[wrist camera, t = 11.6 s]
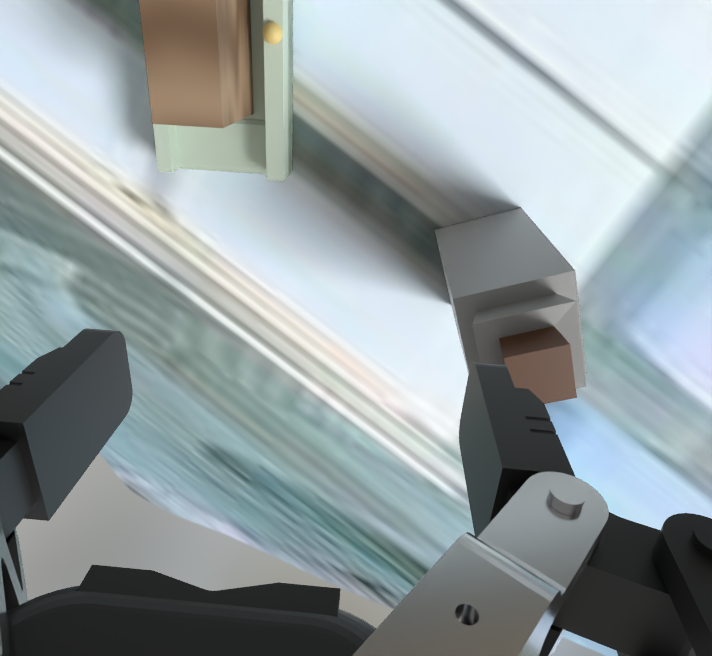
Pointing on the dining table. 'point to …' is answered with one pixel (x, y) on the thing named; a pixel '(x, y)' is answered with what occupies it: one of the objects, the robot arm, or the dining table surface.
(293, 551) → the dining table surface
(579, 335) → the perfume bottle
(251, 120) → the ledge
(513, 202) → the dining table surface
